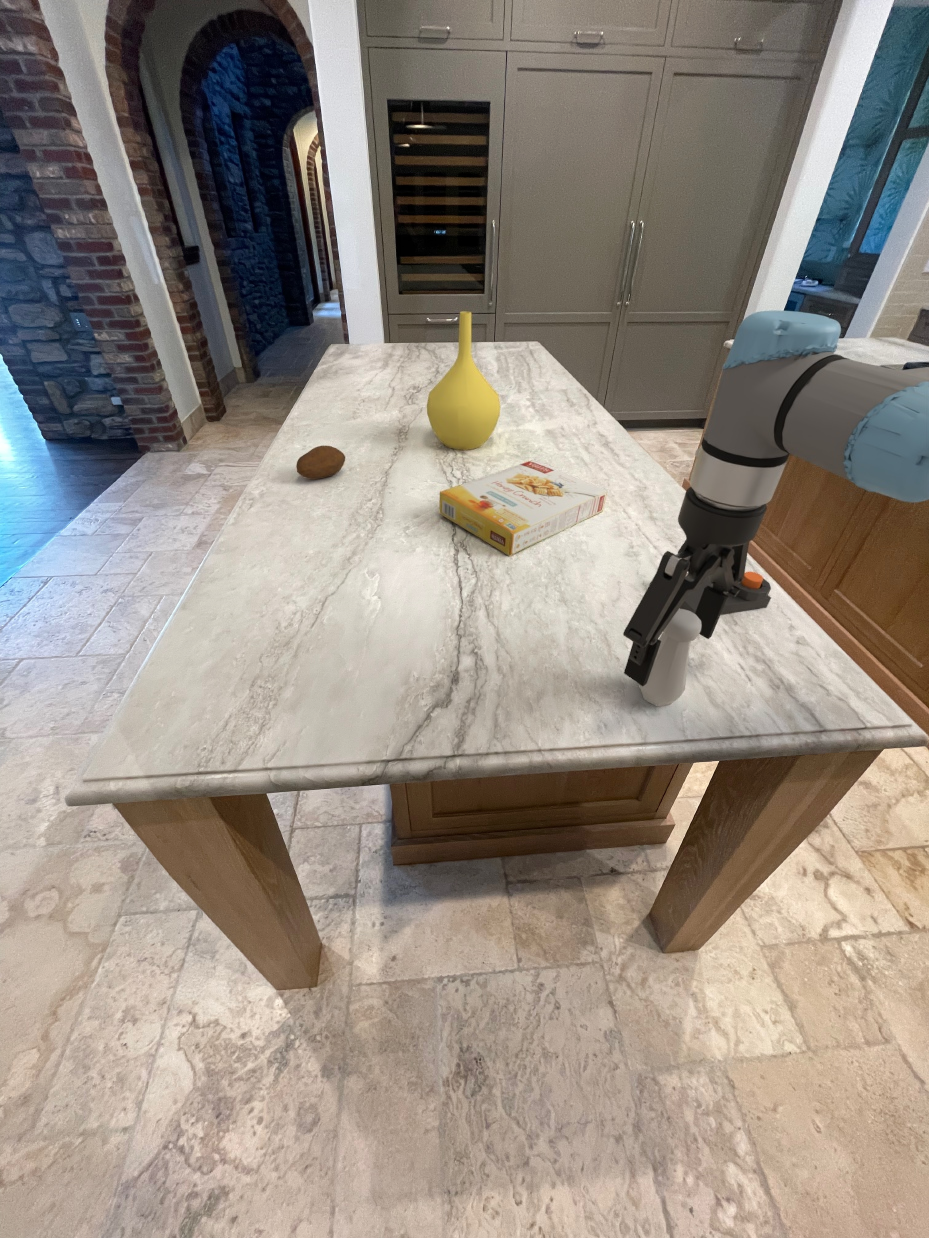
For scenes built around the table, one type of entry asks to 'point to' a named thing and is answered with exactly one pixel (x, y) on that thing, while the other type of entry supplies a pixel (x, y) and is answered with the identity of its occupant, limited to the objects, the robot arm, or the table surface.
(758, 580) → the button
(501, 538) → the cereal box
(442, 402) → the vase
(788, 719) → the table surface
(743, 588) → the scale
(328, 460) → the potato
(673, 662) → the salt shaker
